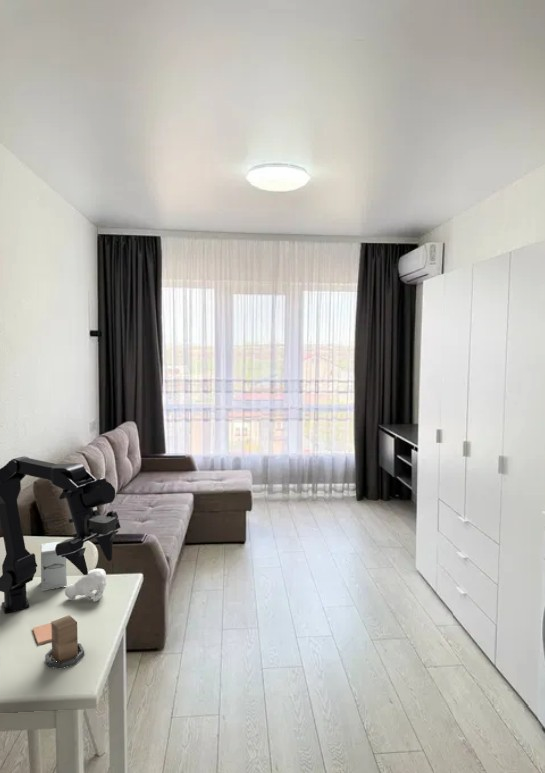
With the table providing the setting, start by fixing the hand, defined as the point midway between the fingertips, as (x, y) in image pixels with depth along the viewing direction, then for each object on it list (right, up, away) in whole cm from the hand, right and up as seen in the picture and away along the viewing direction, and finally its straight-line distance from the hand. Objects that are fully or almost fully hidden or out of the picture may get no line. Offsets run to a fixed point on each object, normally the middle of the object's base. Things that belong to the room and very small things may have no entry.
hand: (98, 567), depth 132 cm
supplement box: (-23, -15, +25) cm, 37 cm away
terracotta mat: (-12, -17, -1) cm, 21 cm away
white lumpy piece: (-10, -16, +17) cm, 25 cm away
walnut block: (-4, -18, -11) cm, 22 cm away
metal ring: (-4, -18, -11) cm, 21 cm away
